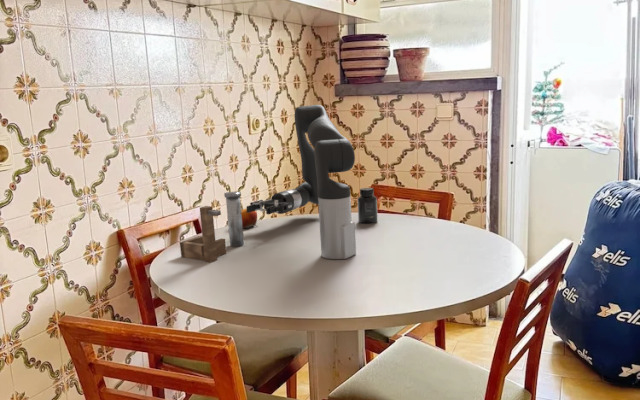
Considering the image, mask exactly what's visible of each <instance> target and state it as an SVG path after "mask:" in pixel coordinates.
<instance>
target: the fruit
mask: <svg viewBox="0 0 640 400" xmlns="http://www.w3.org/2000/svg"><path fill="white" fill-rule="evenodd" d="M241 215H242V226H243V229H245V228H246V229H249V228H250V227H258V225H257V221H258V213H257V211H253V212H250V213H248V212H247V208H246V207H245V208H243V209H242V208H241Z"/></svg>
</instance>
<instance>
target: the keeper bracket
mask: <svg viewBox="0 0 640 400" xmlns="http://www.w3.org/2000/svg"><path fill="white" fill-rule="evenodd" d="M199 214H200V224H201V226H200V227H201V234H202V235H198V236H195V237H192V238H190V239H187V240H184V241H179V248H180V257H181V258H185V259H186V258H187V259H192V260H199V261H204V262H206V261H207V262H208V263H213V262H216V261H218V257H220V256H222V255H226V254H227V248H226V238H219V239H216V232H215V223H214V222H215V221H214V217H218V216H221V215H222V213H221V210H218V209H217V210H216V209H213V206H209V205H205V206H201V207H199Z"/></svg>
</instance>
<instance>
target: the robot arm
mask: <svg viewBox="0 0 640 400" xmlns="http://www.w3.org/2000/svg"><path fill="white" fill-rule="evenodd" d="M294 126H295V132H296V137H297V143H298V149H299V152H300V153H299V154H300V158H301V172H302V173H301V174H302V179H303V181H304V182H302V183H301V184H300V185H299V186H297V187H295V188H293V189H292V188H291V189H286V190H284V191H280V192H276V193H274V194H273V195H272V196H271V198H269V199H266V200H263V199H260V200H256V201H252V202H250V204H249V205H246V207H245V209H246V208H247V212H248V213H250V212H253V211H256V212H257V211H260V212H265V213H266V215H272V214H274V213H276V214H278V215H283V214H287V213H288V212H292V211H294V210H296V209H298V208H302V207H304V206H306V205H307V204H308V203H312V204H314V205H318V217H319V218H318V220H319V221H318V222H319V237H320V252H321V257H322V258H324V259H328V260H347V259H349V258H350V257H352V256H354V255H356V254H357V247H356V246H357V245H356V240H357V239H356V223H355V221H352V220H353V219H352V201H351V199H352V198H351V188H350V186H349V185H347V184H345V183H341V182H338V181H335V180H333V179H332V178H330V176H329V174H336V173H344V172H348V171H350V170H352V168H353V167H354V166H355V160H356V155H355V150H354V147H353V145H352V143H351V142H350V140H349V139H348V138H347V137H345V136H344V135H342V134H341V133H340V132H339V130H338V129H337V126H335V124H334V123H333V122H332V121H331V119H330V118H329V116H328V113H327V111H326V109H325V107H324V106H323V105H321V104H312V105H302V106H301V105H300V106H297V107H296V108H295V110H294ZM306 134H307V135H306ZM307 138H308V139H307Z"/></svg>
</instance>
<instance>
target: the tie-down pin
mask: <svg viewBox="0 0 640 400" xmlns="http://www.w3.org/2000/svg"><path fill="white" fill-rule="evenodd" d="M223 196H224V198H225V202H226V203H225V204H226V213H227V224H228V236H229V237H228V239H229V246H230V247H232V248H238V247H239V248H240V247H243V246H245V241H244V240H245V239H244V231H243V230H244V228H243V226H242V215H241V210H242V207H241V197H242V193H241V191H237V190H235V191H226V192H224V194H223Z"/></svg>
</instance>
